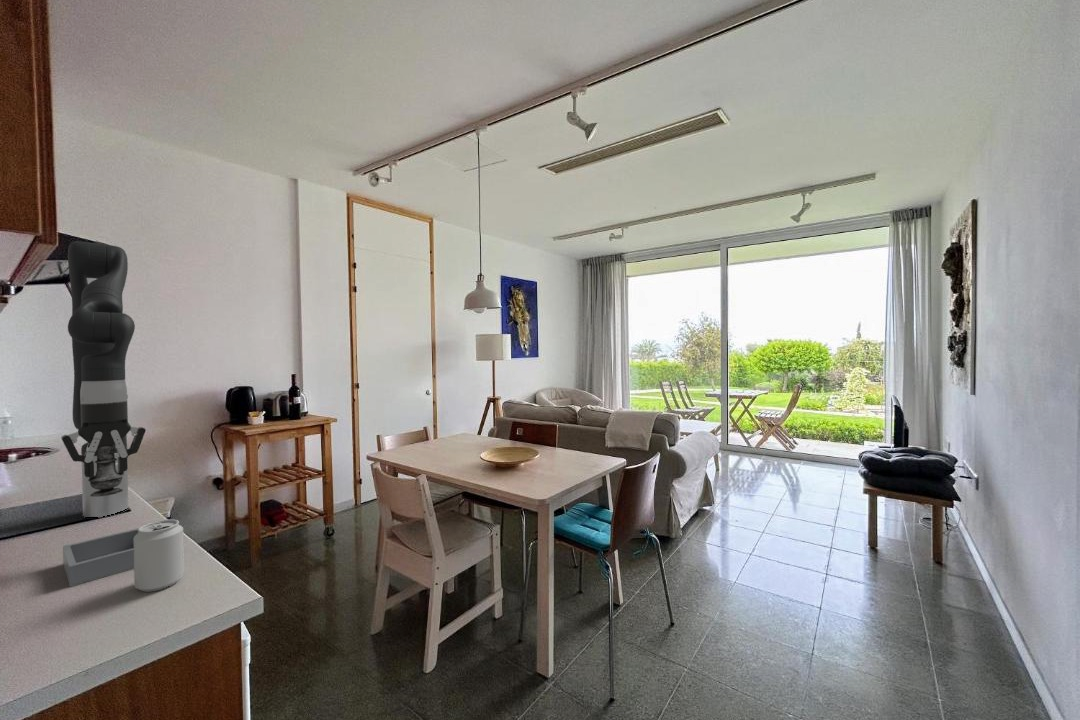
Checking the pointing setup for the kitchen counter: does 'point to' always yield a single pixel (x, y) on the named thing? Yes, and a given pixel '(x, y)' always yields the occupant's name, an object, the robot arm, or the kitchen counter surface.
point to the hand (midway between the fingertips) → (106, 475)
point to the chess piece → (106, 473)
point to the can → (158, 555)
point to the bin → (99, 565)
